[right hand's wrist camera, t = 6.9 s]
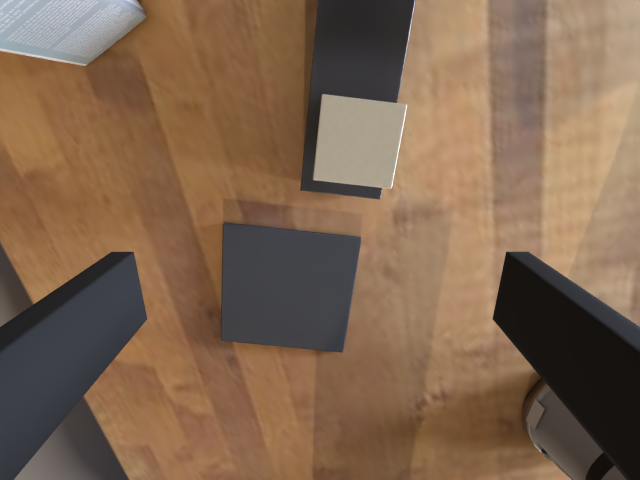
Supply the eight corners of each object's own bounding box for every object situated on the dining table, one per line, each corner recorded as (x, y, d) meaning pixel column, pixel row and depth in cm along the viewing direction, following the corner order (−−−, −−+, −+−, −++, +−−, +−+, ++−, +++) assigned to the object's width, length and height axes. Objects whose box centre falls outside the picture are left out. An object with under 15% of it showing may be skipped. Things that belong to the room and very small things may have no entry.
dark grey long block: (337, -178, 25) (346, -354, 15) (433, -163, 25) (500, -328, 16) (302, 182, 34) (295, 208, 24) (373, 190, 34) (393, 219, 25)
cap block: (321, 99, 27) (321, 93, 20) (383, 106, 28) (407, 104, 20) (314, 162, 29) (312, 180, 22) (373, 169, 29) (391, 189, 22)
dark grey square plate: (360, 237, 36) (361, 239, 35) (342, 349, 40) (342, 352, 40) (224, 222, 35) (222, 224, 35) (222, 337, 40) (220, 340, 39)
